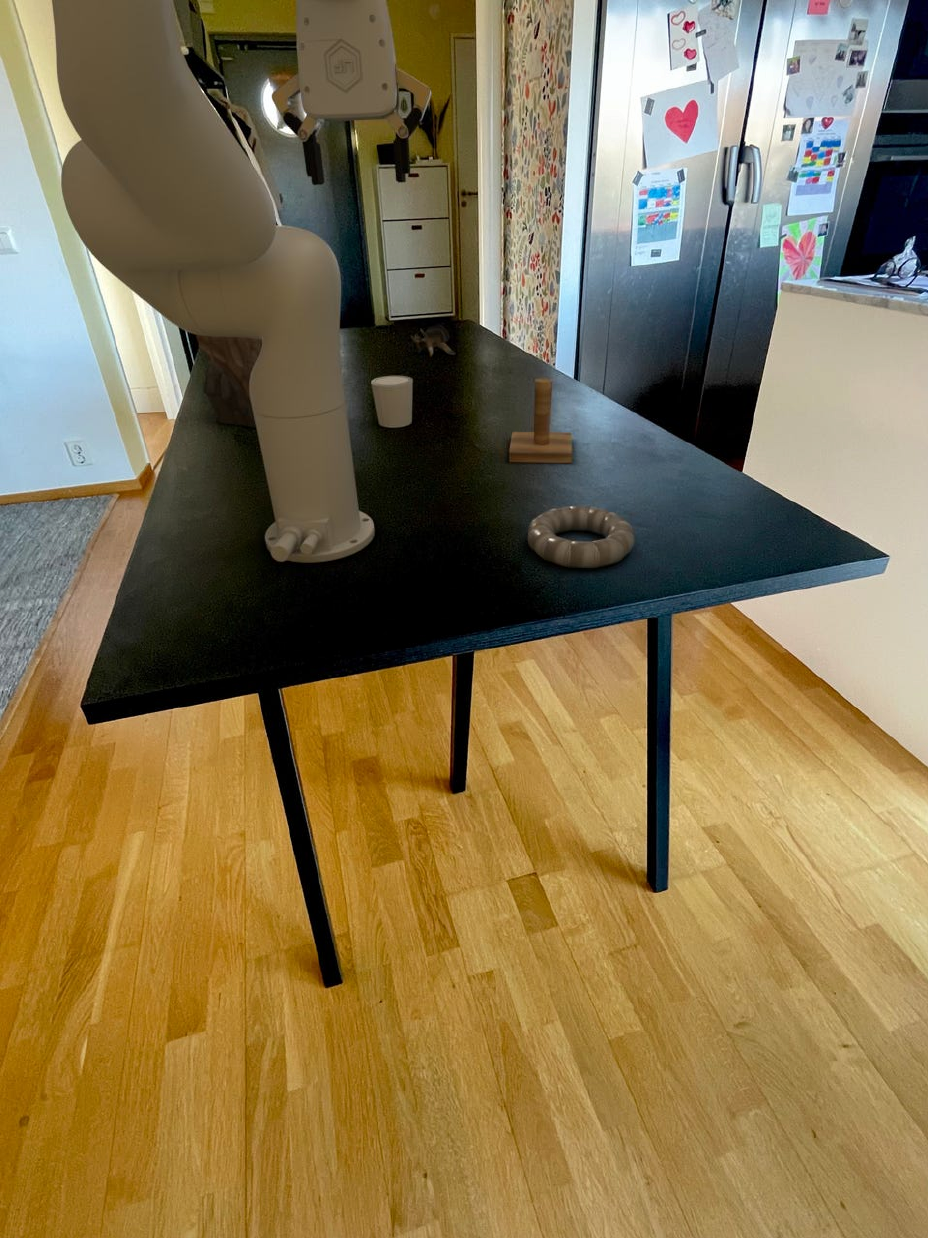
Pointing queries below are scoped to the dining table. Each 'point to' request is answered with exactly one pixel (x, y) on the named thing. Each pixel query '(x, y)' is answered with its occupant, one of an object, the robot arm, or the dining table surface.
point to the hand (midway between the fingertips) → (359, 183)
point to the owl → (230, 376)
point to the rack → (541, 433)
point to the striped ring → (580, 551)
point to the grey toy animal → (433, 339)
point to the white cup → (393, 400)
